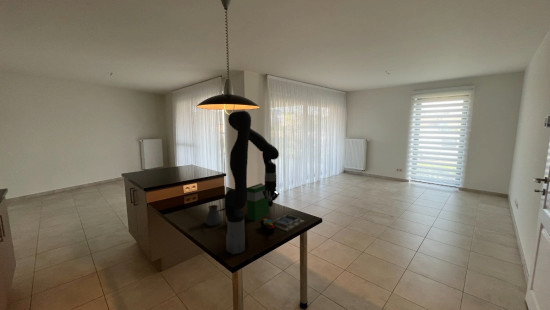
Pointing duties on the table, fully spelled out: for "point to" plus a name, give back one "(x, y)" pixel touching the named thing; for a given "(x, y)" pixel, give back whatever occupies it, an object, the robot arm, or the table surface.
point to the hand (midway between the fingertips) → (270, 206)
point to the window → (287, 222)
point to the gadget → (268, 225)
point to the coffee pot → (213, 216)
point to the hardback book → (256, 202)
